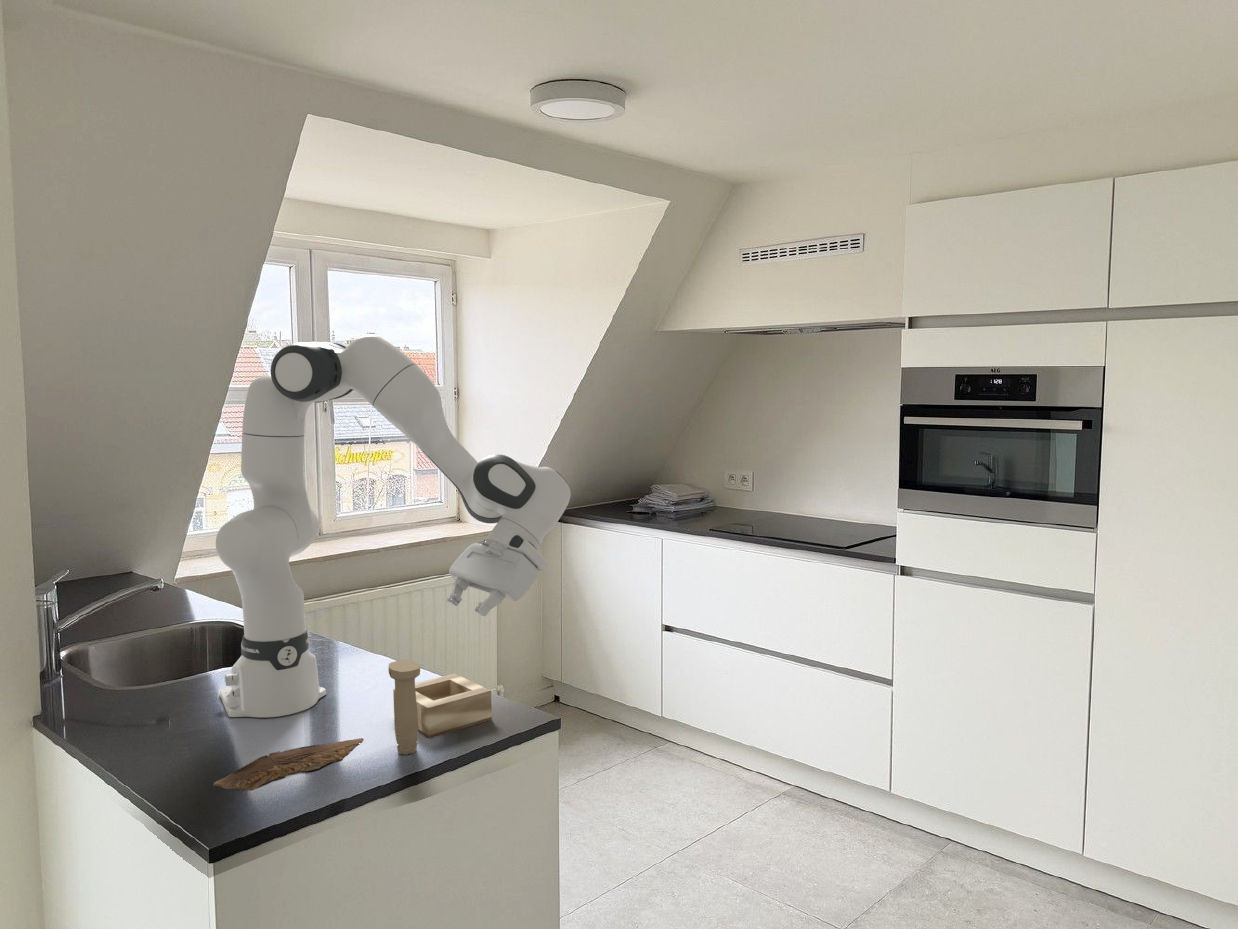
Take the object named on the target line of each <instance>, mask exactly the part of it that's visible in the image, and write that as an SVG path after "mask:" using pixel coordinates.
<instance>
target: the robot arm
mask: <svg viewBox="0 0 1238 929" xmlns="http://www.w3.org/2000/svg"><path fill="white" fill-rule="evenodd" d="M353 391H355V392H356V393H358V394H360V396H361V397H362V398H364V399H365V400H366V401H367V402H368V403H369V404H370V405H371V406H372V407H373V408H374V409H375V410H376V411H377V412H379V414H380V415H382V417H384V418H385V419H386V420H387V421H388V422H389V423H391V424H392V425H393V426H394V427H395V428H396V429H398V430H399V431H400V432H401V433H402V434H403V435H405V436H406V437H407V438H408V440H409V441H411V442H412V443H413V444H415V445H416V446H417V447H418V448H419V450H421V451H422V452H423V454H424V455H425V456H426V457H427V458H428V459H429V460H430V461H431V462H432V463H433V464H434V465H435V467H436V468H438V470H440V472H441V473H442V474H443V475H444V476H445V477H446V479H448V480H449V481H450V482H451V484H452V485H453V486H454V487H455V488H456V490H457V491H458V493H459V494H460V497H461V500H462V502H463V504H464V507H465V509H466V511H467V512H468V514H469V515H470V516H471V517H472V518H473V519H475V520H476V521H477V522H478V521H479V522H481V523H485V524H495V526H494V527H493V528H492V530H491V531H490V532H489V534H488V535H487V537H486V538H485V539H481V540H480V541H477V542H475V543H472V544H470V545H469V546H467V547H466V548H465V549H464V550H463V551H462V552H461V554H460V555H459V556H458V557H457V558H456V559H455V561H454V562H453V563H452V564H451V565H450V567H449V571H448V574H449V576H450V577H451V578H452V579H454V582H453V585H452V589H451V593H449V595H448V597H447V598H446V601H447V602H448V603H449V604H450V605H452V606H454V607H457V606H459V604H460V603H461V602H462V600H463V598H462V595H463V592H464V591H466V590H467V589H468V587H469V588H473V589H475V590H479V591H482V592H485V593H487V594H489V596H488V597H487V598H486V599H484V600H483V601H480V602H479V603H478V604H477V606H476V607H475V609H474V610H475V612H476V613H477V614H478V615H480V616H482V617H487V616H488V614H489V613H490V611H491V610H492V609H494V608H495V607H497V606H498V605H500V604H502V602H503V600H504V599H506V600H510V601H513V602H517V601H519V600H520V599H522V598H524V596H525V595H526V594H527V592H528V591H529V590H530V588H532V585H533V584H534V583H535V581H536V580H537V579H538V576H539V573H540V572H541V571H543V570H544V569H545V568H546V567H547V565H548V560H547V559H546V557H544V555H543V554H541V552H540V551H539V549H540V547H541V545H542V543H543V541H544V538H545V536H546V535H548V533H549V532H551V531H552V530H553V529H554V527H556V525H557V523H559V522H558V521H559V520H560V519H561V517H562V516H563V514H564V513H565V511H566V509H567V507H568V505H569V503H570V499H571V495H572V494H571V489H570V486H569V485H568V481H567V480H566V479H565V478H564V477H563V476H562V474H560V473H559V472H558V471H557V470H555V469H554V468H552V467H549V466H534V465H529V464H525V463H522V462H519V461H517V460H515V459H513V458H511V457H509V456H507V455H505V454H499V453H498V454H491V455H487V456H485V457H483V458H482V459H481V460H480V461H477V460H476V459H475V458H474V456H473V455H472V454H471V453H470V452H469V451H468V450H467V449H466V448H465V447H464V446H463V445H462V443H460V442H459V441H458V439H457V438H456V437H455V435H454V434H453V433H452V431H451V430H450V428H449V425H448V423H447V420H446V417H445V414H444V408H443V403H442V397H441V393H440V392H439V390H438V388H437V386H435V384H434V383H433V381H432V379H431V378H429V376H428V375H427V373H425V371H423V370H422V369H421V367H420V366H418V365H417V363H415V362H414V361H413V360H412V359H411V358H410V357H408V355H406V354H405V353H404V352H402V351H401V350H400V349H399V348H397V347H396V346H394V345H393V344H392V343H391V342H389V341H387V340H385V339H384V338H383V337H381V336H379V335H377V334H373V333H372V334H371V333H369V334H363V335H361V336H358V337H356V338H355V339H354V340H352V341H351V342H350V343H349V344H348V345H347V346H344V345H343V344H341V343H337V342H328V341H322V340H313V341H310V342H309V341H308V342H302V341H297V342H294V343H291V344H288V345H286V346H285V347H283V348H282V349H281V348H280V350H279V351H277V353H276V354H275V355H274V357H273V359H272V362H271V365H270V374H265V375H262V376H259V377H257V378H255V379H254V380H253V381H252V382H251V383H250V385H249V386H248V391H247V394H246V397H245V398H246V400H245V403H244V408H243V416H242V426H241V427H242V430H241V433H242V434H241V458H240V461H241V463H240V464H241V466H240V471H241V475H242V477H243V478H244V480H245V481H246V482H247V483H248V484H249V487H250V491H251V494H252V498H253V509H251V510H246V511H243V512H241V513H238V514H237V515H235V516H234V517H232V518H231V519H229V520H228V521H227V522H226V523H224V524H223V525H222V526H221V527H220V528H219V530H218V532H217V534H216V537H215V550H216V553H217V555H218V557H219V559H220V560H221V562H222V563H223V564H224V565H225V566H227V567H228V568H229V569H230V570H231V572H232V574H233V576H234V579H235V581H236V583H237V586H238V590H239V594H240V598H241V606H242V618H243V633H244V634H243V635H242V637H241V638H242V640H241V644H240V648H241V650H240V654H241V655H240V657H239V658H238V659H237V661H236V662H235V663H234V664H233V666H232V665H231V672H230V673H226V674H225V675H224V680H225V681H224V682H225V688H222V689H221V690H220V693H219V696H220V699H221V701H222V704H223V707H224V709H225V712H226V714H227V717H229V718H242V717H250V718H275V717H277V718H278V717H284V716H288V715H292V714H296V713H300V712H302V711H305V710H307V709H310V708H311V707H313V706H315V704H317V703H318V701H319V699H321V698H323V697H324V696H326V695H327V690H326V688H325V687H323V686H320V682H319V681H320V680H319V673H318V665H317V663H318V662H317V658H316V655H314V653H311V652H310V651H309V643H310V638H309V637H310V636H309V633H308V630H307V628H306V618H305V597H304V596H305V594H304V592H303V588H302V587H300V586H299V585H298V584H297V583H296V581H295V579H294V576H293V573H292V569H291V566H290V558H292V557H295V556H297V555H299V554H301V553H302V552H305V550H306V549H307V548H308V547H310V545H311V544H312V543H313V542H314V541H315V540H316V538H317V537H318V534H319V531H320V522H319V518H318V516H317V514H316V512H315V511H314V509H313V508H311V505H310V501H309V497H308V493H307V488H306V482H305V476H304V475H305V473H304V471H305V470H304V469H305V468H304V466H305V464H304V462H305V433H306V431H305V430H306V429H305V427H306V426H305V424H306V415H307V412H308V409H309V407H310V406H311V405H312V404H313V403H320V404H321V403H323V402H327V401H331V400H337V399H340V398H343V397H346V396H347V395H349V394H351V393H352V392H353ZM539 571H540V572H539Z"/></svg>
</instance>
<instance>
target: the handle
mask: <svg viewBox="0 0 1238 929" xmlns="http://www.w3.org/2000/svg"><path fill="white" fill-rule="evenodd" d="M388 675H389V677H390V678H391V679H393V680H394V689H395V711H394V710H393V718H394V733H395V740H396V744H397V746H396V749H397V753H398V754H399V755H404V756H407V755H410V754H412V753H413V754H415V752H416V750H417V749H418V736H419V733H418V712H417V702H416V691H415V683H416V682H415V681H416V678H417V677H418V676H420V675H421V664H420V663H419V662H416V661H414V660H411V659H402V660H401V659H400V660H396V661H392V662H390V663H388Z"/></svg>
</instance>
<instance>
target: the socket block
mask: <svg viewBox="0 0 1238 929" xmlns="http://www.w3.org/2000/svg"><path fill="white" fill-rule="evenodd" d="M392 691H393V712H394V711H395V688H393V689H392ZM415 691H416V702H417V712H418V732H419V733H418V734H420V735H421V736H423V735H424V736H423V737H426V738H427V739H428V738H429V739H433V738H435V737H436V736H437V737H440V736H444V735H447V734H450V733H453V732H456V730H457V731H459V730H463V729H466V728H470V727H472V726H476V725H480V724H483V723H486V722H489V721H492V719H493V714H492V711H493V710H492V690H491V689H488V688H486V687H484V686H482V685H480V684H478V683H476V682H474V681H472V680H469V679H467V678H465V677H463V676H462V675H461V676H460V675H458V674H456V673H451V674H447V675H444V676H439V677H436V678H435V677H434V678H430V679H428V680H424V681H419V682H417V683H416V682H415ZM446 733H447V734H446Z"/></svg>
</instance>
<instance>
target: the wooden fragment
mask: <svg viewBox="0 0 1238 929" xmlns="http://www.w3.org/2000/svg"><path fill="white" fill-rule="evenodd" d="M364 740H365V739H363V737H362V738H360V737H359V738H355V739H347V740H343V741H342V740H341V741H335V742H330V743H324V744H313V745H307V746H300V747H296V748H292V749H286V750H283V751H277V752H271V753H269V754H268V755H267V754H266V755H263V756H260V757H258V758H257V759H255V760H253V761H251V762H250V763H248V764H246V765H245V766H244V765H243V766H242V767H241V768H239V769H237V770H235V771H234V772H232V773H230V774H228V775H226V776H224V777H222V778H220V779H218V780H216V781H215V782H213V784H212V786H214V787H219V788H221V789H222V788H223V789H226V790H237V791H245V790H246V791H254V790H256V789H257V788H260V787H261V786H263V785H265V784H269V783H270V782H272V781H274V780H275V781H278V780H280V779H283V778H286V777H288V776H289V775H290V776H291V775H295V774H297V773H306V772H309V771H311V772H312V771H315V770H320V769H321V768H322V767H324V766H326V765H328V764H330V763H336V762H341V761H342V760H344V759H345V758H346V757H347V756H348V755H350V753H351V752H352V751H353V749H355V748H356V747H357V746H358V745H360V744H359V743H361V744H362V743H363V741H364ZM356 745H357V746H356ZM355 746H356V747H355ZM350 751H351V752H350ZM345 756H346V757H345ZM344 757H345V758H344ZM343 758H344V759H343Z"/></svg>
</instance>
